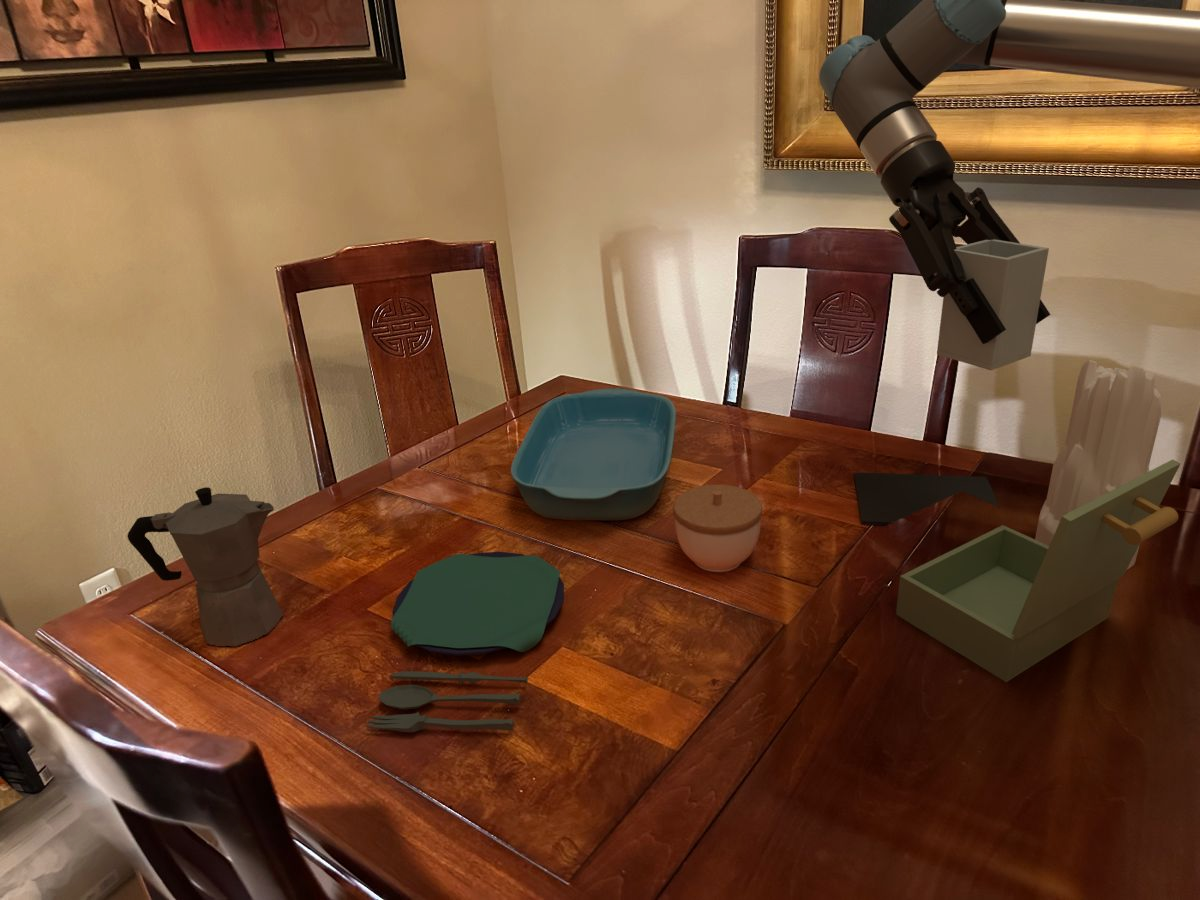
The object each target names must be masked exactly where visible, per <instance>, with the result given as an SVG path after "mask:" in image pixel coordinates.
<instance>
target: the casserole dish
mask: <svg viewBox="0 0 1200 900" xmlns="http://www.w3.org/2000/svg"><path fill="white" fill-rule="evenodd" d="M676 422H677V410H676V406H675V404H674V402H673V401H672V400H671V399H670V398H667V397H665V396H662V395H659V394H653V393H648V392H641V391H637V390H635V389H629V388H612V387H611V388H597V389H590V390H586V391H583V392H575V393H569V394H568V393H567V394H564V395H560V396H556V397H554V398H552V399H550V400H548V401H547V402H546V403H545V404H543V405H542V407H540V409H539V410H538V412H537V413H536V415H535V416H534V418H533V420H532V422H531V424H530V426H529V428H528V430H527V431H526V434H525V435H524V437H523V439H522V441H521V443H520V445H519V447H518V449H517V450H516V453H515V455H514V458H513V460H512V463H511V466H510V475H511V477H512V479H513V481H514V483H515V485H516V487H517V489H518V491H519V493H520V495H521V497H522V498H523V500H524V502H525V503H526V505H527V506H528V508H529V509H531V511H532V512H534V513H536V514H537V515H539V516H541V517H543V518H545V519H551V520H562V521H577V522H579V521H581V522H582V521H583V522H585V521H590V522H591V521H592V522H593V521H595V522H599V521H600V522H614V521H615V522H616V521H627V520H632V519H635V518H637V517H640V516H641V515H643V514H645V513H646V512H648V511H649V510H650V509H651V508H653V506H654V505H655V504H656V502H657V501H658V499H659V497H660V495H661V493H662V490H663V487H664V484H665V481H666V477H667V474H668V472H669V470H670V466H671V461H672V456H673V450H674V441H675V440H674V439H675V431H676V424H677V423H676Z"/></svg>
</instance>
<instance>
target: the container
mask: <svg viewBox="0 0 1200 900" xmlns="http://www.w3.org/2000/svg"><path fill="white" fill-rule="evenodd" d="M956 248H957V249H955V250H954V251H955V253H956V254H957V256H958V257H959V259H960V260H961V263H962V267H963V270H964V273H965V276H966V279H965V280H964V282H966V281H967V280H969V279H972V278H973V279H974V280H975V282H976V283H977V285H978V286H979V288H980V290H981V291H982V293H983V294H984V296H985V297H986V299H987V300H988V302H989V304H990V305H991V307H992V308H993V310H994V311H995V313H996V315H997V316H998V318H999V319H1000V321H1001V322H1002V324H1003V325H1004V327H1005V328H1006V330H1005V331H1003V332H1002V333H1001V334H999V335H998V336H996V337H995V338H993V339H992V340H991V341H989V342H988V343H985V344H982V342H981V340H980V339H979V337H978V336H977V334H976V332H975V331H974V329H973V328H972V326H971V324H970V323H969V321H968V320H967V318H966V316H964V315H963V314H962V313H961V311H960V310H959V308H958V307H957V304H956V303H955V302H954V300H953V299H952V297H951V295H950V294H949V293H948V294H947V295H946V296H945V297H942V306H941V315H940V323H939V331H938V340H937V348H936V355H937V356H940V357H943V358H947V359H951V360H954V361H957V362H961V363H964V364H966V365H971V366H975V367H977V368H981V369H984V370H988V371H994V370H997V369H999V368H1002V367H1005V366H1008V365H1010V364H1013V363H1015V362H1018V361H1021V360H1024V359H1026V358H1029V357H1031V356H1032V350H1033V344H1034V340H1035V334H1036V333H1035V331H1036V326H1037V324H1036V321H1037V316H1038V310H1039V304H1040V299H1041V297H1042V291H1043V285H1044V280H1045V274H1046V267H1047V263H1048V258H1049V257H1048V256H1049V252H1050V251H1049V250H1050V248H1049V247H1044V246H1038V245H1032V244H1025V243H1021V242H1020V243H1014V242H1007V241H1001V240H995V239H994V240H983V241H979V242H975V243H971V244H967V243H966V244H964V245H960V246H956Z"/></svg>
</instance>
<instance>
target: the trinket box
mask: <svg viewBox="0 0 1200 900" xmlns="http://www.w3.org/2000/svg"><path fill="white" fill-rule="evenodd" d="M672 509H673V515H674V530H675V534H676V535H675V536H676V538H677V539H676V540H677V541H678V542H677V543H678V545H679V547H680V548H681V550H682V552H683V553H684V554H685V556H686V557H687V558H688V559H690V561H692V562H693V564H694V565H696V567H698V568H700V569H702V570H703V571H708V572H712V573H726V572H730V571H733V570H735V569H737V568H738V567H740V566H741V564H742V563H744V562H745V561H746V560H747V559H748V558H749V557H750V556H751V555H752V553H753V552H754V551H755V549H756V547H757V544H758V542H759V539H760V535H761V534H760V533H761V528H762V516H763V503H762V501H761V500H760V498H759V497H758V496H757V495H756V494H754V493H753V492H751V491H750V490H747V489H745V488H743V487H740V486H736V485H729V484H705V485H700V486H695V487H692V488H689V489H687V490H685V491H683V492H682V493H680V494H679V495H678V496H677V497H676V498H675V500H674V501H673V505H672Z"/></svg>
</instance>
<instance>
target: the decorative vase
mask: <svg viewBox="0 0 1200 900" xmlns="http://www.w3.org/2000/svg"><path fill="white" fill-rule="evenodd" d="M1161 418H1162V395H1161V394H1160V392H1159V390H1158V389H1157V388H1156V381H1155V375H1154V373H1152V371H1150V370H1148V371H1145V369H1144V368H1143V367H1140V366H1137V365H1134V364H1131V365H1130V366H1129V368H1128V370H1127V369H1124V368H1121V367H1114V368H1111V367H1104V366H1103V365H1099V366H1098V362H1097V361H1094V360H1091V359H1089V360H1086V361H1084V362H1083V363H1082V366H1081V369H1080V371H1079V374H1078V377H1077V382H1076V386H1075V392H1074V397H1073V403H1072V408H1071V413H1070V418H1069V423H1068V429H1067V434H1066V439H1065V444H1064V446H1062V447H1061V449H1060V451H1059V453H1058V455H1056V458H1055V460H1054V461H1053V465H1052V469H1051V474H1050V480H1049V485H1048V490H1047V494H1046V499H1045V500H1044V503H1043V505H1042V507H1041V509H1040V513H1039V516H1038V521H1037V527H1036V532H1035V538H1034V539H1035V540H1037V541H1039V542H1041V543H1044V544H1046V545H1048V546H1050V543H1051V541H1052V539H1053V536H1054V534H1055V532H1056V529H1057V527H1058V525H1059V523H1060V520H1061V518H1062V516H1064V515H1066V514H1067V513H1069V512H1071V511H1073V510H1075V509H1077V508H1079V507H1081V506H1083V505H1085V504H1087V503H1089V502H1091V501H1093V500H1095V499H1097V498H1099V497H1101V496H1102V495H1104V494H1106V493H1108V492H1110V491H1112V490H1114V489H1116V488H1118V487H1120V486H1122V485H1124V484H1126V483H1128V482H1130V481H1132V480H1134V479H1135V478H1137V477H1139V476H1141V475H1143V474H1145V473H1147V472H1149V471H1150V462H1151V459H1152V455H1153V452H1154V451H1153V450H1154V446H1155V442H1156V438H1157V435H1158V431H1159V426H1160V422H1161ZM1140 545H1141V543H1140V544H1139V546H1138V548H1137V550H1136V552H1135V554H1134V556H1133V558H1132V560H1131V562H1130V564H1129V566H1128V568H1127V570H1129V569H1131V568H1132V567H1134V565H1135V564H1136V561H1137V558H1138V553H1139V550H1140V549H1139V548H1140Z"/></svg>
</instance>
